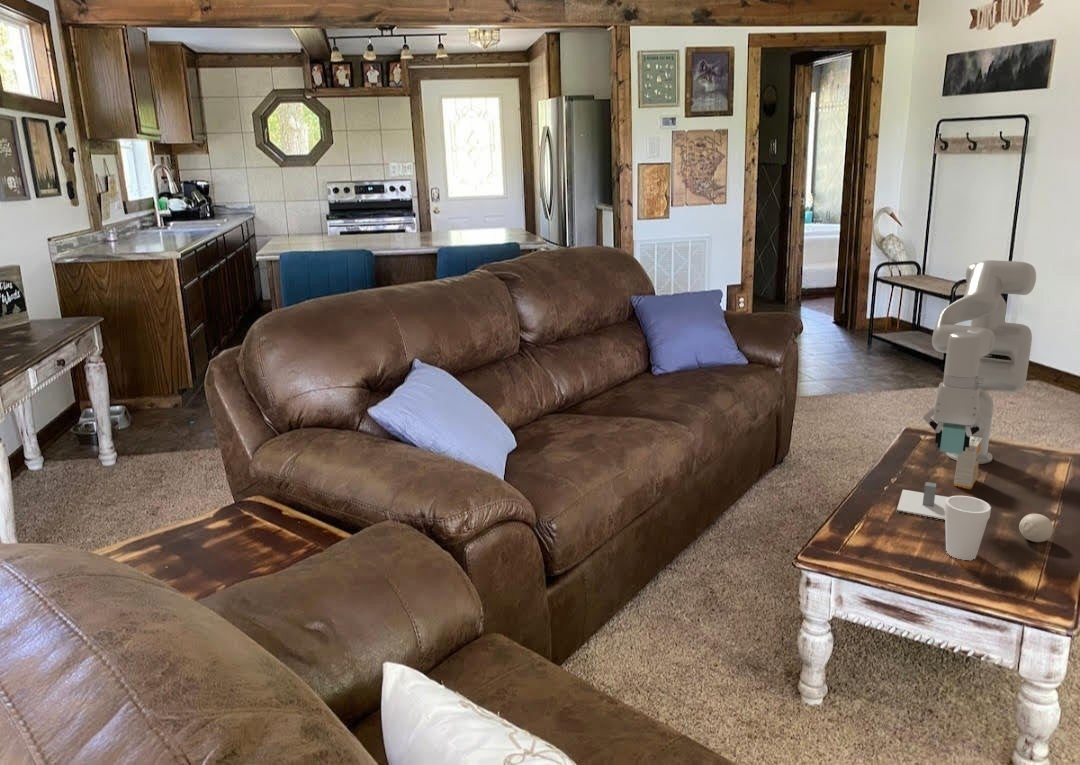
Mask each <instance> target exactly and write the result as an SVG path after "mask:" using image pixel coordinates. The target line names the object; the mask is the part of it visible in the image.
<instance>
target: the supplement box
mask: <svg viewBox="0 0 1080 765" xmlns="http://www.w3.org/2000/svg"><path fill="white" fill-rule="evenodd" d="M981 445H982V438H979V437H973V436H971V437H970V442H969V447H966V449H965V451H963V453H962V454H958V457H957V461H956V467H955V472H954V481H953V487H957V486H958V488H961V487H962V488H961V489H967V490H972V488H973V486H974V484H975V483H976V481H977V478H978V471H979V465H980V464H979V458H980V452H981Z"/></svg>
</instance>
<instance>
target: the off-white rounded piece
mask: <svg viewBox="0 0 1080 765" xmlns="http://www.w3.org/2000/svg"><path fill="white" fill-rule="evenodd" d="M1018 529H1019V531H1020V534H1021V535H1022V536H1023V537H1024V538H1025V539H1027V540H1028V541H1031V542H1035V543H1042V542H1043V543H1044V542H1046V541H1048V540H1049V539H1050V538H1051V537H1052V535H1053V533H1054V526H1053V523H1052V521H1051V520H1050V519H1049V518H1048V517H1047V516H1045V515H1044V514H1040V513H1029V514H1027V515H1025V516H1023V518H1021V520H1020V522H1019V526H1018Z"/></svg>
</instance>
